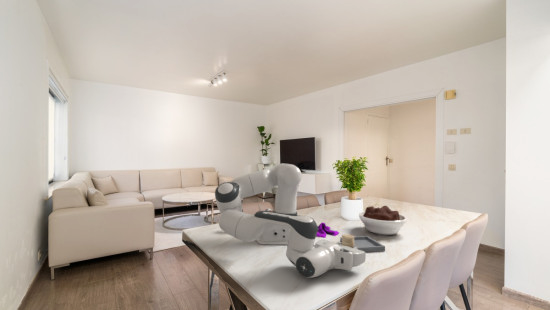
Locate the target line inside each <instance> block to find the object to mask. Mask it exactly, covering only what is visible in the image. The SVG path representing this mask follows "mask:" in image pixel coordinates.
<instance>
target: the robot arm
mask: <svg viewBox="0 0 550 310" xmlns="http://www.w3.org/2000/svg"><path fill="white" fill-rule="evenodd" d="M301 171H302V170H300V168H299V167H298V166H296V165H295V164H292V163H291V164H290V163H283V162H282V163H279V164H275V165H273V166H269V167H267V168H264V169H261V170H258V171H254V172H251V173H247V174H244V175H241V176H238V177H236V178H234V179H232V180H230V181H226V182H222V183H221V184H219V185H218V186H217V187H216V188H215V191H214V197H215V200H216V206H217V208H218V211H219V213H220V215H219V219H218V227H219V228H220V229H221V231H224V232H225V233H226V234H227V235H229V236H231V237H233V238H235V239H237V240H240V241H242V242H245V243H252V242H255V241H256V242H257V243H258V244H259V245H274V246H275V245H276V246H277V245H279V246H282V245H285V246H286V251H285V252H286V253H285V255H286V258H287V259H288V260H289V262H290V263H291V264H292V266H294V267H295V269H296V271H297V272H298V274H299V275H300V276H301V277H303V278H307V279H311V278H315V277H320V276H322V275H323V274H325V273H327V272H328V271H330V270H333V269H334V270H337V269H338V270H343V271H344V270H345V271H352V270H353V268H355V267H358V266H360V265H361V266H362V264H364V263H365V262H366V259H367V258H366V256H367V255H366V252H364V251H361V250H358V247H356V246H353V247H352V248H351V247H348V246H344V245H342V242H340V241H339V242H335V241H334V242H333V241H330V240H327V239H319V240H318V241H316V238H317V236H316V235H317V232H318V226H319V225H318V224H317V223H316V221H315V219H314V218H312V217H310V216H307V215H298V211H297V203H298V202H297V198H298V191H299V186H300V182H301V180H302V178H303V175H302V172H301ZM276 187H277V188H276ZM274 188H276V189H277V190H276V194H275V196H274V197H275V199H274V200H275V202H274V206H275V208H274V212H273V211H265V210H258V211H256V212H255V213H253V214H250V213H248V212H244V209H243V202H242V200H243V199H245V198H249V197H253V196H256V195H258V194H262V193H263V194H264V193H265V192H269V191H270V190H273V189H274ZM315 241H316V242H315Z"/></svg>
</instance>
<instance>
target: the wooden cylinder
mask: <svg viewBox="0 0 550 310" xmlns="http://www.w3.org/2000/svg"><path fill="white" fill-rule="evenodd" d="M341 237H342V245H344V246H348V247H351V248H352V247H353V246H354V237H355V236H354V235H352V234H349V233H348V234H346V233H345V234H342V235H341Z"/></svg>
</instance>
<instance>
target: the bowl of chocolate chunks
mask: <svg viewBox="0 0 550 310" xmlns="http://www.w3.org/2000/svg"><path fill="white" fill-rule="evenodd" d="M358 217H359V219H360V221H361V223H363V227H365V229H366V230H367V231H369V232H371V233H374V234H379V235H388V236H389V235H396V234H398V233H399V232H400V231H401V228H402V227H403V226H405V224H406V223H407V217H406V216H405V215H402V214H400V212H399V211H398V210H392V209H390V208H389V206H388V205H382V206H381V207H374V206H367V207H366V208H365V211H364V210H363V211H361V212H359V214H358Z"/></svg>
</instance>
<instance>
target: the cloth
mask: <svg viewBox="0 0 550 310" xmlns="http://www.w3.org/2000/svg"><path fill="white" fill-rule="evenodd" d="M317 226H318V232H317V235H316V238H321V239H322V238H325V239H326V238H327V234H328V235H332V237H336V236H337V235H338V234H339V233H340V232H339V231H338V230H332V229H331V227H330V226H328V225H327V224H326V223H325V222H320V224H319V225H317Z"/></svg>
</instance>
